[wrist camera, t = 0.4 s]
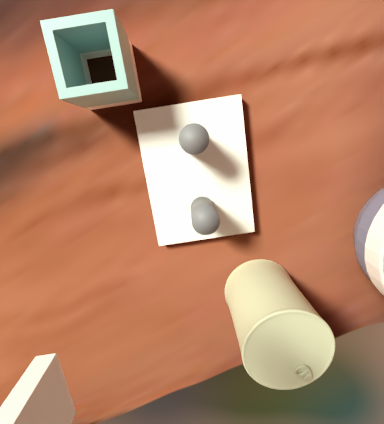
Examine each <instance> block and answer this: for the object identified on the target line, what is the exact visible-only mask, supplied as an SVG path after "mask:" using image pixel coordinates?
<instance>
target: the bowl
mask: <svg viewBox="0 0 384 424" xmlns="http://www.w3.org/2000/svg"><path fill="white" fill-rule="evenodd" d="M354 245H355V250H356V255H357V259H358V262H359V264H360V266H361V269H362V270H363V272H364V273H365V274H366V276H367V277H368V278H369V279H370V280H371V282H372V283H373V284H374V286H375V287H376V288H377V289H378V291H379V292H380V293H381V294H382V295H384V188H382V189H380V190H379V191H378V192H377V193H375V194H374V195H373V196H372V197H371V198H370V199H369V200H368V201H367V202H366V203H365V205H364V206H363V208H362V210H361V211H360V213H359V215H358V217H357V220H356V223H355V227H354Z"/></svg>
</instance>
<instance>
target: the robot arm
mask: <svg viewBox="0 0 384 424" xmlns="http://www.w3.org/2000/svg"><path fill="white" fill-rule="evenodd" d="M75 413H76V409H75V406H74V404H73V401H72V398H71V395H70V392H69V389H68V386H67V383H66V380H65V377H64V374H63V372H62V369H61V366H60V363H59V360H58V357H57V354H56V353H55V354H48V355H42V356H36V357H35V358H34V360H33V361H32V362H31V364H30V365H29V367H28V368H27V370H26V371H25V373H24V374H23V375H22V377H21V378H20V380H19V381H18V383H17V384H16V385H15V387H14V388H13V390H12V391H11V393H10V394H9V396H8V397H7V398H6V400H5V401H4V403H3V404H2V406H1V407H0V424H71V423H72V421H73V418H74V416H75Z"/></svg>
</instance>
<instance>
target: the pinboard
mask: <svg viewBox="0 0 384 424" xmlns="http://www.w3.org/2000/svg"><path fill="white" fill-rule="evenodd" d="M133 113H134V119H135V124H136V129H137V134H138V139H139V145H140V150H141V155H142V160H143V165H144V171H145V176H146V181H147V186H148V192H149V197H150V202H151V207H152V212H153V218H154V223H155V228H156V233H157V238H158V244H159V246H163V245H170V244H176V243H183V242H190V241H196V240H203V239H210V238H216V237H223V236H230V235H236V234H243V233H250V232H255V229H254V219H253V209H252V199H251V188H250V178H249V168H248V158H247V148H246V137H245V127H244V117H243V107H242V97H241V94H239V95H232V96H226V97H220V98H213V99H207V100H200V101H194V102H188V103H181V104H175V105H169V106H162V107H156V108H150V109H143V110H137V111H133Z"/></svg>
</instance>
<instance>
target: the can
mask: <svg viewBox="0 0 384 424" xmlns="http://www.w3.org/2000/svg"><path fill="white" fill-rule="evenodd" d="M225 298H226V302H227V304H228V306H229V308H230V312H231V315H232V319H233V323H234V326H235V330H236V334H237V338H238V342H239V346H240V350H241V355H242V361H243V365H244V367H245V369H246V371H247V372H248V374H249V375H250V376H251V377H252V378H253V379H254V380H255V381H256V382H258V383H260V384H261V385H263V386H266V387H269V388H272V389H279V390H288V389H296V388H299V387H302V386H305V385H307V384H310V383H311V382H313V381H314V380H316V379H318V378H319V377H320V376H321V375H322V374H323V373H324V372H325V371H326V370H327V368H328V367H329V365H330V364H331V362H332V360H333V357H334V353H335V338H334V335H333V332H332V330H331V328H330V327H329V325H328V324H327V323H326V322H325V321H324V320H323V319H322V318H321V317H320V315H319V314H318V313H317V312H316V311H315V309H314V308H313V307H312V306H311V304H310V303H309V302H308V301H307V299H306V298H305V297H304V295H303V294H302V293H301V292H300V290H299V289H298V288H297V286H296V285H295V284H294V282H293V281H292V280H291V278H290V276H289V274H288V273H287V271H286V270H285V269H284V268H283V267H282V266H281V265H279V264H277V263H275V262H273V261H270V260H265V259H256V260H251V261H248V262H245V263H243V264H241V265H240V266H238V267H237V268H236V269H235V270H234V271H233V272H232V273H231V274H230V276H229V278H228V280H227V282H226V286H225Z"/></svg>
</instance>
